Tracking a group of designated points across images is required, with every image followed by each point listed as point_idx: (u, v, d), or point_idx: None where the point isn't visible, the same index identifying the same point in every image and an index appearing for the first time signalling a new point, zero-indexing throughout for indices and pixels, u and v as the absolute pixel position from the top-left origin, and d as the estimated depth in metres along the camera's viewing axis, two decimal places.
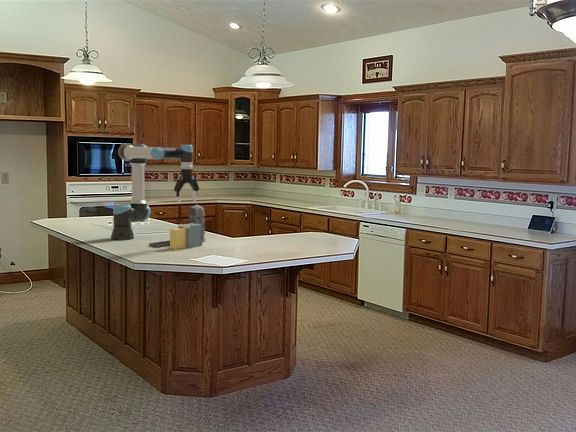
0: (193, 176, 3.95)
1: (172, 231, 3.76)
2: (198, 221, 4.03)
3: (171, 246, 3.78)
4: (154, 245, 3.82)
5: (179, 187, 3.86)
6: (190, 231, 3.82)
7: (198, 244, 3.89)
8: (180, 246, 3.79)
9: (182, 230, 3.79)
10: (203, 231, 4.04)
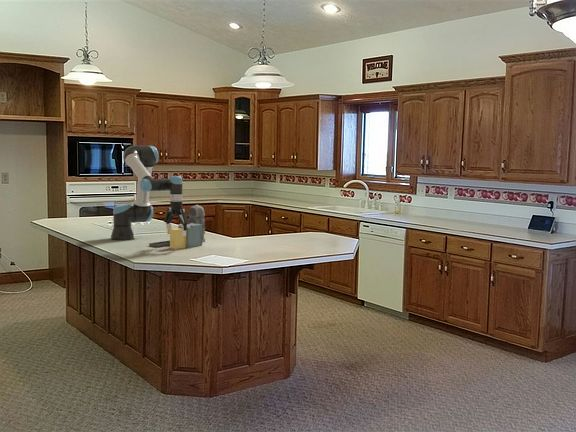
0: None
1: (172, 231, 3.76)
2: (198, 221, 4.03)
3: (171, 246, 3.78)
4: (154, 245, 3.82)
5: None
6: (190, 231, 3.82)
7: (198, 244, 3.89)
8: (180, 246, 3.79)
9: None
10: (203, 231, 4.04)
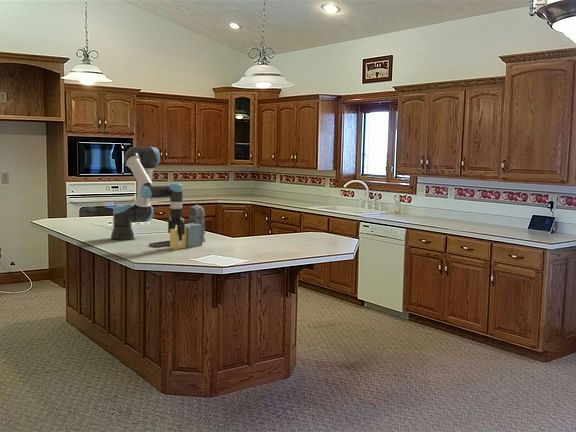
0: (182, 219, 3.74)
1: (172, 231, 3.76)
2: (198, 221, 4.03)
3: (171, 246, 3.78)
4: (154, 245, 3.82)
5: None
6: (190, 231, 3.82)
7: (198, 244, 3.89)
8: (180, 246, 3.79)
9: None
10: (203, 231, 4.04)
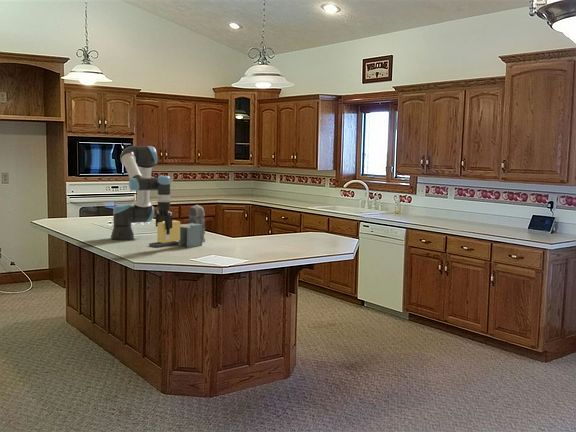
0: (169, 212, 3.66)
1: (160, 224, 3.68)
2: (198, 221, 4.03)
3: (159, 240, 3.70)
4: (154, 245, 3.82)
5: None
6: (190, 231, 3.82)
7: (198, 244, 3.89)
8: (168, 240, 3.71)
9: None
10: (203, 231, 4.04)
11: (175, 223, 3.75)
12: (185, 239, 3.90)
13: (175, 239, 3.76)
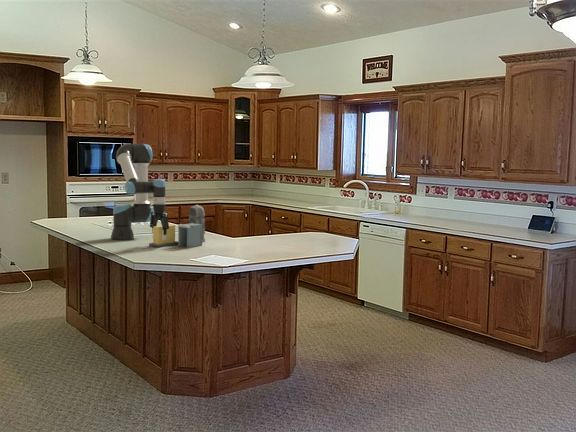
0: None
1: (155, 228, 3.83)
2: (198, 221, 4.03)
3: (154, 243, 3.84)
4: (154, 245, 3.82)
5: None
6: (190, 231, 3.82)
7: (198, 244, 3.89)
8: (163, 243, 3.86)
9: None
10: (203, 231, 4.04)
11: (170, 227, 3.89)
12: (185, 239, 3.90)
13: (170, 242, 3.90)
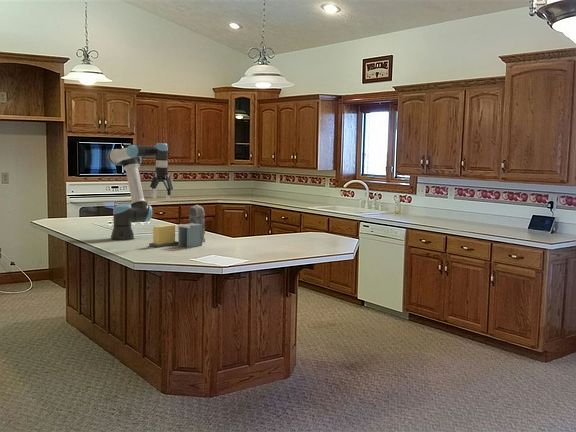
0: (166, 175, 3.91)
1: (155, 228, 3.83)
2: (198, 221, 4.03)
3: (154, 243, 3.84)
4: (154, 245, 3.82)
5: None
6: (190, 231, 3.82)
7: (198, 244, 3.89)
8: (163, 243, 3.86)
9: (165, 227, 3.86)
10: (203, 231, 4.04)
11: (170, 227, 3.89)
12: (185, 239, 3.90)
13: (170, 242, 3.90)
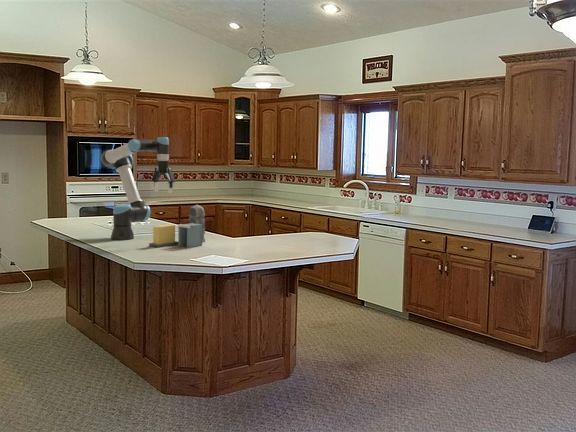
0: (168, 168, 3.99)
1: (155, 228, 3.83)
2: (198, 221, 4.03)
3: (154, 243, 3.84)
4: (154, 245, 3.82)
5: None
6: (190, 231, 3.82)
7: (198, 244, 3.89)
8: (163, 243, 3.86)
9: (165, 227, 3.86)
10: (203, 231, 4.04)
11: (170, 227, 3.89)
12: (185, 239, 3.90)
13: (170, 242, 3.90)
